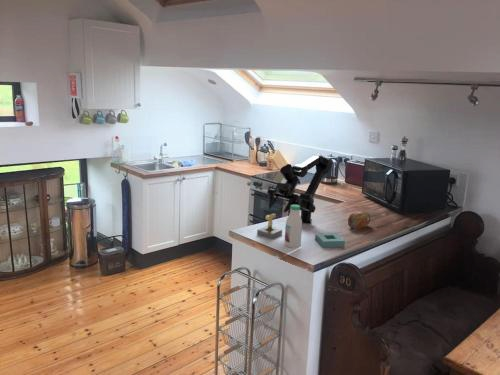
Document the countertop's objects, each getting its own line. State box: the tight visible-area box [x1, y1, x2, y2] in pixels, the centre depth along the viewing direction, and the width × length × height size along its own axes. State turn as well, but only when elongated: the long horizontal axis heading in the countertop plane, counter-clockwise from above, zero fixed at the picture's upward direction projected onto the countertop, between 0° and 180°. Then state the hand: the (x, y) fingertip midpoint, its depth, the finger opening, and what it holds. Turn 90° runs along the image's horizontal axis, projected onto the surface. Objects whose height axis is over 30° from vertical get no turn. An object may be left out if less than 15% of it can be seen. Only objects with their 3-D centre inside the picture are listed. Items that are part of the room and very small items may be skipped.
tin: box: [347, 211, 371, 230], centre depth 237 cm, size 15×3×8 cm, turn 122°
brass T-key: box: [265, 212, 277, 232], centre depth 217 cm, size 6×2×10 cm, turn 142°
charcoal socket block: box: [256, 225, 283, 240], centre depth 218 cm, size 9×9×3 cm
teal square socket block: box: [314, 232, 346, 248], centre depth 212 cm, size 11×11×3 cm
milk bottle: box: [284, 205, 303, 249], centre depth 204 cm, size 8×8×20 cm
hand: (276, 210), depth 219 cm, fingers open, 9 cm apart
